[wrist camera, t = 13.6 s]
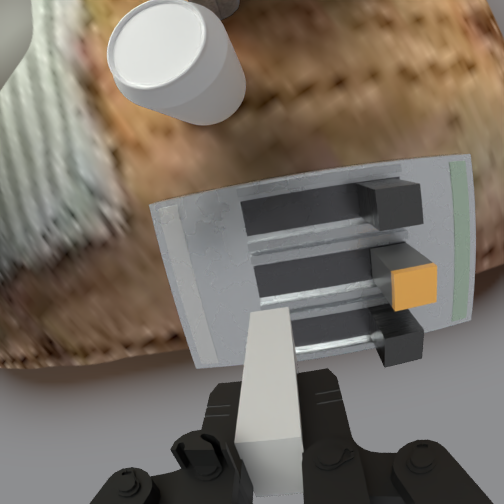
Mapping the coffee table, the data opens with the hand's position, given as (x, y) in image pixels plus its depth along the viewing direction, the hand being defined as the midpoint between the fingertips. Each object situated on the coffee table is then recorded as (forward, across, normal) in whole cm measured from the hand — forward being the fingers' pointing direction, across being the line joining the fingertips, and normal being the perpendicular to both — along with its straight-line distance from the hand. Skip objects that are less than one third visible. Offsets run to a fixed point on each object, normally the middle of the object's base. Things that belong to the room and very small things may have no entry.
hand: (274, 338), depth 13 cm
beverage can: (+15, -3, +13) cm, 20 cm away
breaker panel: (+14, +4, -2) cm, 15 cm away
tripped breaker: (+12, +9, -2) cm, 15 cm away
